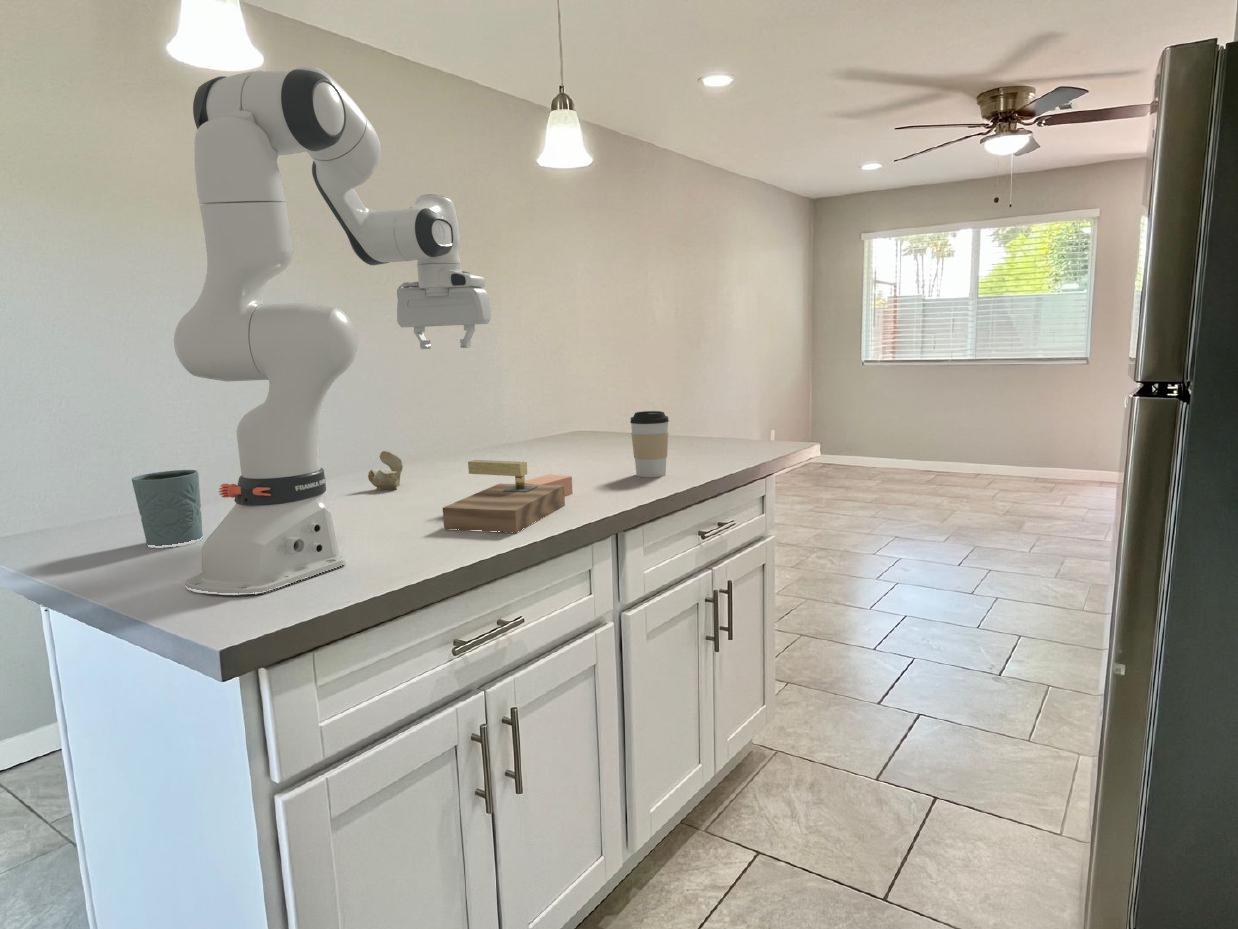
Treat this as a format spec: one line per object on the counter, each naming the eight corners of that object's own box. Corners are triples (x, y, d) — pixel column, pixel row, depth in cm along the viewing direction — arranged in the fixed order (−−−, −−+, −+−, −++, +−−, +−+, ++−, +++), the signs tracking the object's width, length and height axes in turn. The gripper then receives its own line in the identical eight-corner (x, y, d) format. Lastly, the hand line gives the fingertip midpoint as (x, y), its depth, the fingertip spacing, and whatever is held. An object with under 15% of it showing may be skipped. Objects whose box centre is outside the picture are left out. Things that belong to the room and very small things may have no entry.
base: (516, 533, 133) (515, 509, 133) (444, 529, 138) (442, 506, 137) (564, 505, 154) (563, 484, 153) (500, 502, 158) (499, 482, 158)
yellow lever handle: (528, 486, 151) (526, 461, 151) (521, 488, 149) (519, 464, 148) (476, 483, 157) (475, 459, 156) (469, 485, 154) (468, 461, 154)
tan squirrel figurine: (379, 487, 171) (367, 446, 174) (368, 499, 176) (357, 459, 178) (415, 484, 177) (403, 444, 180) (403, 495, 182) (391, 456, 184)
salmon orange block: (541, 504, 157) (540, 485, 156) (519, 501, 160) (517, 482, 160) (572, 495, 165) (571, 476, 164) (550, 492, 168) (549, 474, 168)
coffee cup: (645, 470, 190) (644, 408, 187) (677, 472, 184) (676, 409, 182) (624, 476, 182) (621, 412, 180) (656, 479, 177) (654, 413, 175)
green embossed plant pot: (173, 551, 130) (163, 480, 128) (126, 548, 133) (116, 479, 131) (220, 535, 140) (211, 469, 138) (175, 533, 143) (166, 468, 141)
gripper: (387, 281, 160) (393, 350, 162) (477, 276, 154) (481, 347, 156) (405, 283, 166) (410, 349, 168) (492, 277, 159) (496, 346, 162)
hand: (445, 348), depth 162 cm, fingers open, 8 cm apart
